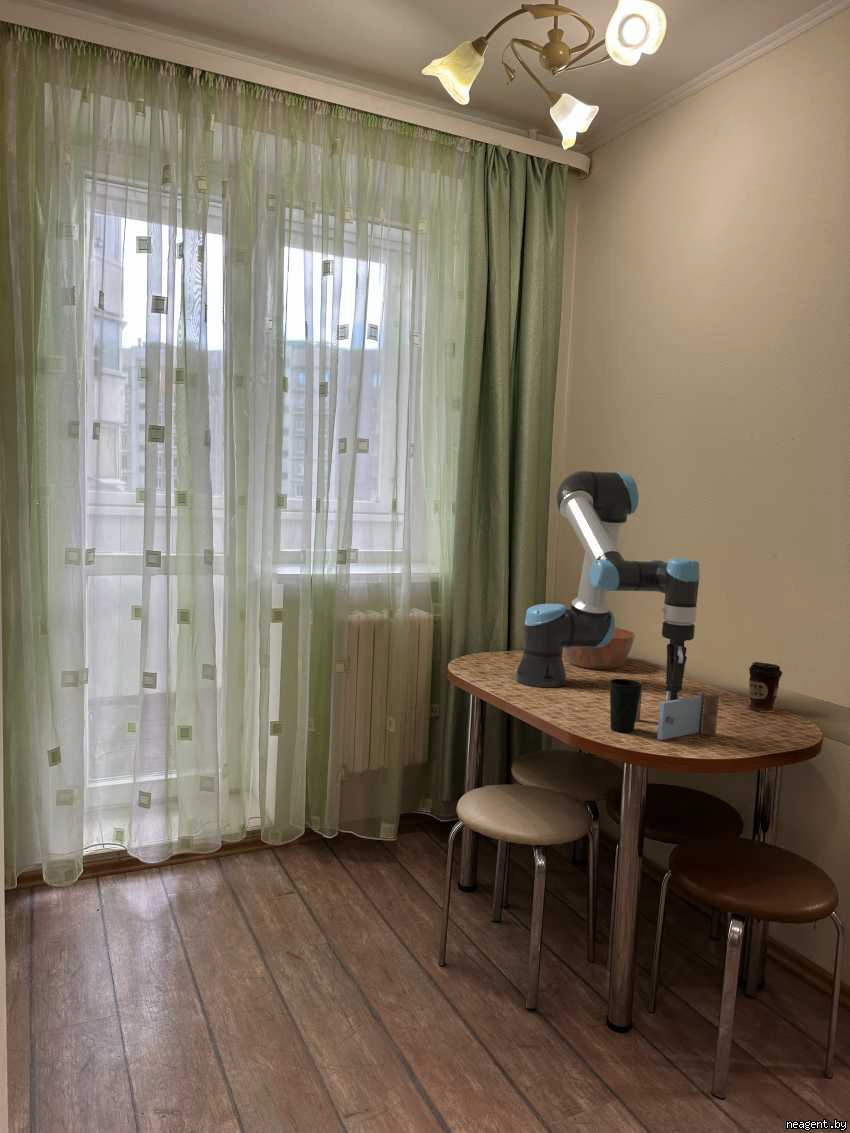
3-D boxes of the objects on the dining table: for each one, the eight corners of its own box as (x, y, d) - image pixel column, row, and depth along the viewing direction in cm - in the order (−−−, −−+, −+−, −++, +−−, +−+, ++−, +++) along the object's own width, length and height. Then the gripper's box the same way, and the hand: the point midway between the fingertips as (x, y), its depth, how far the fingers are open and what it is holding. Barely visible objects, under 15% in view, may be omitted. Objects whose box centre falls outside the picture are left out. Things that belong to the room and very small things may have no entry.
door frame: (626, 719, 222) (629, 681, 221) (629, 717, 224) (632, 680, 223) (713, 736, 211) (717, 696, 210) (715, 734, 213) (719, 695, 212)
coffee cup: (762, 715, 234) (766, 668, 233) (738, 707, 241) (742, 661, 240) (784, 712, 238) (788, 666, 237) (760, 704, 245) (764, 660, 244)
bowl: (543, 664, 285) (546, 630, 284) (575, 653, 305) (578, 621, 304) (614, 677, 271) (617, 641, 270) (643, 665, 291) (646, 632, 290)
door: (697, 731, 215) (701, 692, 214) (706, 733, 213) (709, 694, 212) (656, 739, 206) (660, 698, 205) (665, 742, 204) (668, 701, 203)
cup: (602, 724, 216) (606, 678, 215) (631, 725, 217) (635, 679, 216) (611, 734, 209) (615, 685, 207) (642, 734, 209) (646, 686, 208)
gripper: (658, 616, 215) (651, 707, 218) (667, 626, 203) (659, 722, 206) (689, 618, 215) (681, 709, 218) (700, 628, 202) (691, 725, 205)
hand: (671, 716), depth 212 cm, fingers closed
